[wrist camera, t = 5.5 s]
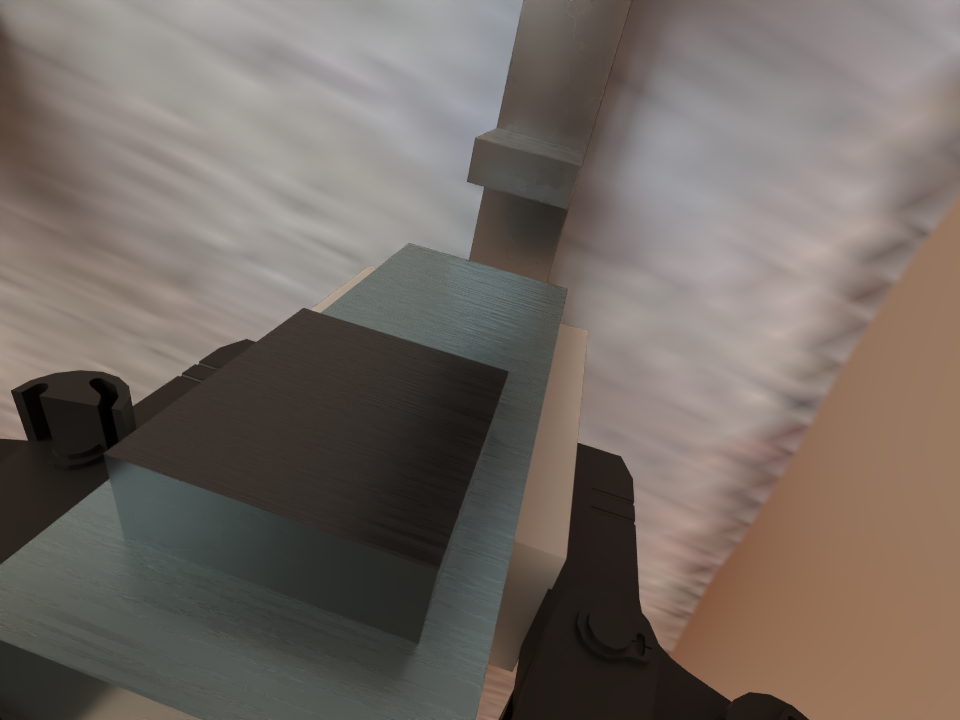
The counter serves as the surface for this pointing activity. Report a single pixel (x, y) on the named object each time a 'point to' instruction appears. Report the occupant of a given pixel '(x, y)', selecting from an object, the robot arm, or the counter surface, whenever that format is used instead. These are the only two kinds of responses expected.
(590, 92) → the rail
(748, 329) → the counter surface
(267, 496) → the grey rectangular block
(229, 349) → the robot arm
